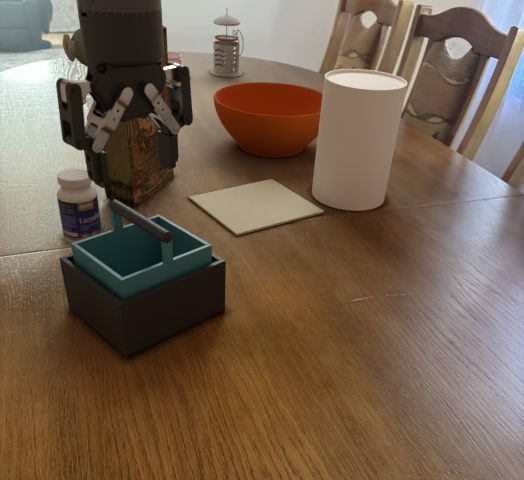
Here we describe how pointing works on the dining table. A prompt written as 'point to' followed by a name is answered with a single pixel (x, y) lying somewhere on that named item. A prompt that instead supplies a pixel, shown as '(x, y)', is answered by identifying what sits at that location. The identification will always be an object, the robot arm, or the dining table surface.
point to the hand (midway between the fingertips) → (135, 175)
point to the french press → (226, 49)
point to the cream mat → (255, 206)
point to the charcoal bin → (146, 306)
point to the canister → (357, 137)
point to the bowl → (269, 116)
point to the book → (136, 155)
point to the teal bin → (139, 253)
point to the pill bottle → (78, 205)
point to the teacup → (174, 57)
